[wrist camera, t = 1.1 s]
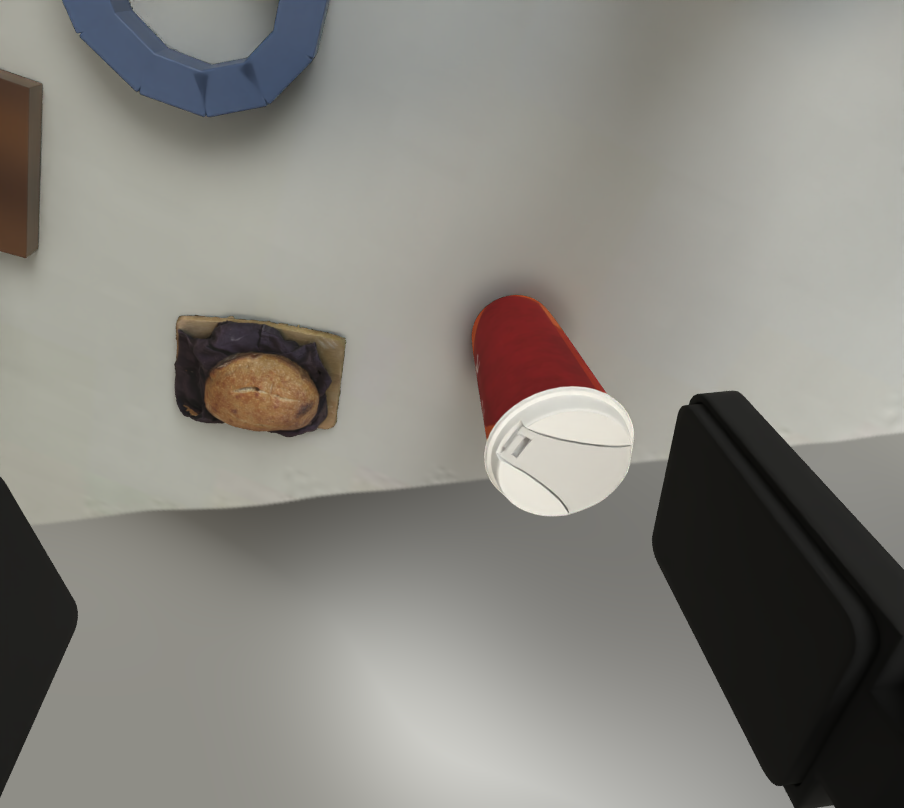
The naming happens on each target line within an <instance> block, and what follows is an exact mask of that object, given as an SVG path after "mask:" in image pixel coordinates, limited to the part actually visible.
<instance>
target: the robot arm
mask: <svg viewBox="0 0 904 808" xmlns="http://www.w3.org/2000/svg"><path fill="white" fill-rule="evenodd" d="M652 546H653V551H654V555H655V558H656V560H657V562H658V564H659V566H660V568H661V570H662V572H663V574H664V576H665V578H666V580H667V582H668V584H669V586H670V588H671V590H672V592H673V594H674V596H675V598H676V600H677V602H678V604H679V606H680V608H681V610H682V612H683V614H684V616H685V618H686V620H687V621H688V624H689V626H690V628H691V629H692V631H693V633H694V635H695V637H696V639H697V641H698V643H699V645H700V647H701V649H702V651H703V653H704V655H705V657H706V659H707V661H708V663H709V665H710V667H711V669H712V671H713V673H714V675H715V676H716V679H717V681H718V683H719V685H720V687H721V689H722V691H723V693H724V695H725V697H726V698H727V700H728V702H729V704H730V706H731V708H732V710H733V712H734V714H735V716H736V718H737V720H738V722H739V724H740V726H741V728H742V730H743V732H744V734H745V736H746V738H747V740H748V742H749V744H750V746H751V747H752V750H753V752H754V754H755V756H756V758H757V759H758V761H759V764H760V766H761V767H762V769H763V771H764V773H765V774H766V776H767V777H768V779H769V780H770V781H771V782H772V783H773V784H775V785H776V786H783V787H784V788H785V790H786V792H787V794H788V796H789V798H790V800H791V802H792V804H793V806H794V808H817V807H824V806H831V805H834V806H835V808H904V569H903V568H902V567H901V566H900V565H899V564H898V563H897V562H896V561H895V560H894V559H893V558H892V556H891V555H890V554H889V553H888V552H887V551H886V550H885V549H884V548H883V547H882V546H881V544H880V543H879V542H878V541H877V540H876V539H875V538H874V537H873V536H872V535H871V534H870V533H869V532H868V530H867V529H866V528H865V527H864V526H863V525H862V524H861V523H860V522H859V521H858V520H857V518H856V517H855V516H854V515H853V514H852V513H851V512H850V511H849V510H848V509H847V508H846V507H845V505H844V504H843V503H842V502H841V501H840V500H839V499H838V498H837V497H836V496H835V495H834V494H833V492H832V491H831V490H830V489H829V488H828V487H827V486H826V485H825V484H824V483H823V482H822V480H821V479H820V478H819V477H818V476H817V475H816V474H815V473H814V472H813V471H812V470H811V469H810V467H809V466H808V465H807V464H806V463H805V462H804V461H803V460H802V459H801V458H800V457H799V456H798V455H797V453H796V452H795V451H794V450H793V449H792V448H791V447H790V446H789V445H788V444H787V442H786V441H785V440H784V439H783V438H782V437H781V436H780V435H779V434H778V433H777V432H776V431H775V429H774V428H773V427H772V426H771V425H770V424H769V423H768V422H767V421H766V420H765V419H764V418H763V416H762V415H761V414H760V413H759V412H758V411H757V410H756V409H755V408H754V407H753V406H752V405H751V403H750V402H749V401H748V400H747V399H746V398H745V397H744V396H743V395H742V394H741V393H739V392H738V391H724V392H714V393H703V394H697V395H694V396H693V397H692V399H691V400H690V403H689V405H684V406H682V407H681V408H680V410H679V412H678V416H677V421H676V425H675V430H674V435H673V440H672V444H671V449H670V454H669V459H668V464H667V468H666V473H665V478H664V483H663V488H662V492H661V497H660V502H659V507H658V511H657V516H656V521H655V526H654V531H653V536H652ZM77 619H78V611H77V605H76V603H75V601H74V599H73V597H72V596H71V594H70V592H69V590H68V589H67V587H66V585H65V584H64V582H63V580H62V579H61V577H60V575H59V574H58V572H57V570H56V569H55V567H54V565H53V563H52V562H51V560H50V558H49V556H48V555H47V553H46V551H45V550H44V548H43V546H42V545H41V543H40V541H39V540H38V538H37V536H36V534H35V533H34V531H33V529H32V528H31V526H30V524H29V522H28V521H27V519H26V517H25V516H24V514H23V512H22V511H21V509H20V507H19V505H18V504H17V502H16V500H15V499H14V497H13V495H12V494H11V492H10V490H9V488H8V487H7V485H6V483H5V482H4V480H3V479H2V478H1V477H0V796H1V794H2V792H3V790H4V787H5V785H6V783H7V781H8V779H9V776H10V774H11V772H12V770H13V767H14V765H15V763H16V761H17V758H18V756H19V754H20V752H21V749H22V747H23V745H24V743H25V740H26V738H27V736H28V734H29V731H30V729H31V727H32V725H33V723H34V720H35V718H36V716H37V714H38V711H39V709H40V707H41V705H42V702H43V700H44V698H45V696H46V694H47V691H48V689H49V687H50V684H51V682H52V680H53V678H54V676H55V673H56V671H57V669H58V667H59V664H60V662H61V660H62V658H63V656H64V653H65V651H66V648H67V647H68V644H69V642H70V640H71V638H72V635H73V633H74V631H75V628H76V625H77Z"/></svg>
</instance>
